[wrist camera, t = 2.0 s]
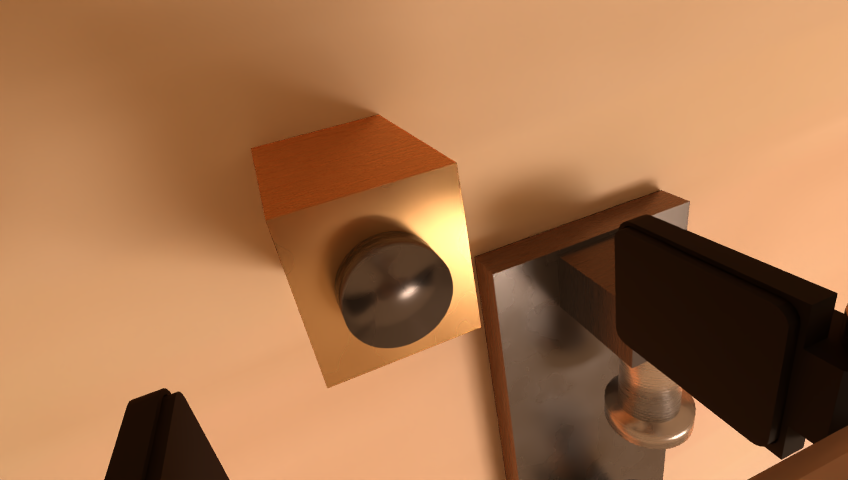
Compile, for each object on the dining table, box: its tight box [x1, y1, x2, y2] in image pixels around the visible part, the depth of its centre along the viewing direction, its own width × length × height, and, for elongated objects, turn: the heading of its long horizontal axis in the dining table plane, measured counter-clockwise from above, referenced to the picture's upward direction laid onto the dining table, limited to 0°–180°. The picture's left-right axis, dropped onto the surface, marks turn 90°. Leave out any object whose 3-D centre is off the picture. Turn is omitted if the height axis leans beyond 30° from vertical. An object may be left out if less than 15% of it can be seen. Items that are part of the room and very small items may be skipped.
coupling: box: [251, 115, 481, 388], centre depth 13 cm, size 4×4×7 cm
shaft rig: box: [475, 190, 696, 480], centre depth 22 cm, size 20×9×6 cm, turn 10°
